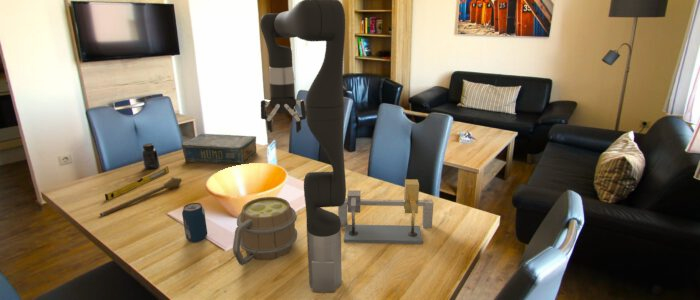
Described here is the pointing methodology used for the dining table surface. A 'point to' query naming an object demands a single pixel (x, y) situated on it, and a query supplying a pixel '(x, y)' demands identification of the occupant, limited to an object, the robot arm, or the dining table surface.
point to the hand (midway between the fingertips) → (284, 131)
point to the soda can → (194, 222)
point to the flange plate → (383, 234)
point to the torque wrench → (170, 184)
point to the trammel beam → (355, 204)
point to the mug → (265, 229)
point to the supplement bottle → (150, 157)
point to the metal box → (219, 149)
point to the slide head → (411, 199)
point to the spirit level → (136, 183)
